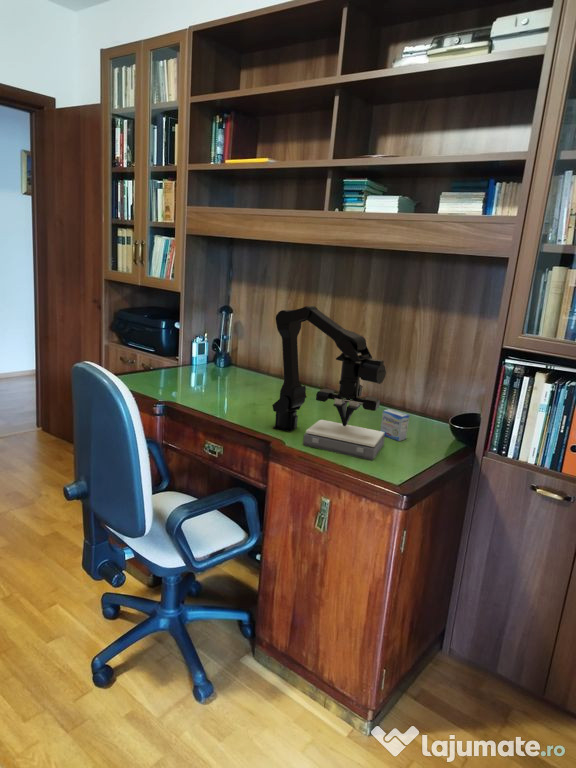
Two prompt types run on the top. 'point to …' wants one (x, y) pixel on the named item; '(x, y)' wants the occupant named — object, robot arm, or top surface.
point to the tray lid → (346, 433)
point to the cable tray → (343, 446)
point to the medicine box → (394, 424)
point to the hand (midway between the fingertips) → (344, 425)
